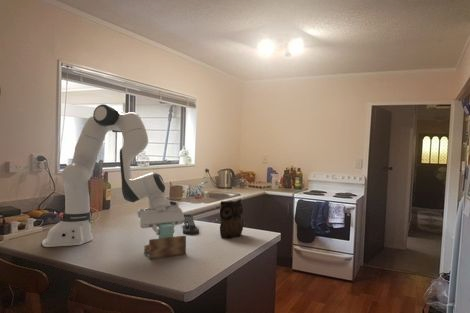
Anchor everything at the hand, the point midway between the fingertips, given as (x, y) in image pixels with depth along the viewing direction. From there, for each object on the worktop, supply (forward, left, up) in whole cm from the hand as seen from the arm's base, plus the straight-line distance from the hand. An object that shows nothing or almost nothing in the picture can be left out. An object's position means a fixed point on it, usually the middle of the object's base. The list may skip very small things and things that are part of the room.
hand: (165, 233), depth 151 cm
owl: (+41, +15, -9) cm, 45 cm away
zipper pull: (+26, +38, -10) cm, 47 cm away
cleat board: (0, +1, -9) cm, 9 cm away
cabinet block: (0, 0, -4) cm, 4 cm away
